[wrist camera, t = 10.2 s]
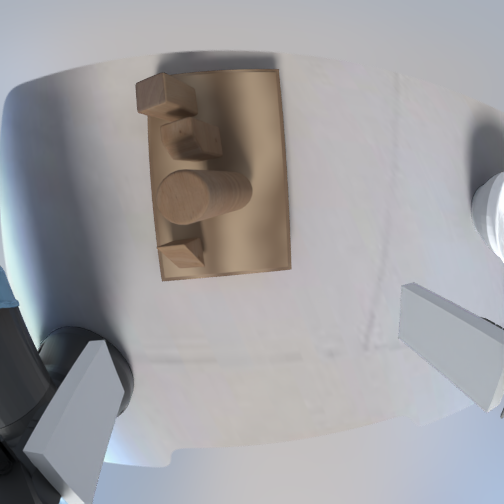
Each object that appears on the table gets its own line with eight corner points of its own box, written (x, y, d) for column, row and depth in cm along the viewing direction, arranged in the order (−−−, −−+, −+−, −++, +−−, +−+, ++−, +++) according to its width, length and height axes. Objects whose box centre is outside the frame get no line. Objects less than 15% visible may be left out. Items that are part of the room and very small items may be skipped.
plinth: (166, 272, 35) (161, 281, 32) (153, 87, 30) (147, 77, 27) (284, 261, 37) (291, 269, 33) (272, 79, 32) (279, 68, 28)
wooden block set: (163, 104, 30) (100, 84, 20) (237, 82, 27) (189, 44, 17) (187, 264, 33) (129, 295, 23) (263, 257, 30) (225, 294, 21)
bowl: (445, 240, 39) (484, 252, 31) (468, 146, 36) (507, 144, 28) (494, 267, 42) (527, 279, 34) (514, 187, 39) (547, 191, 31)
